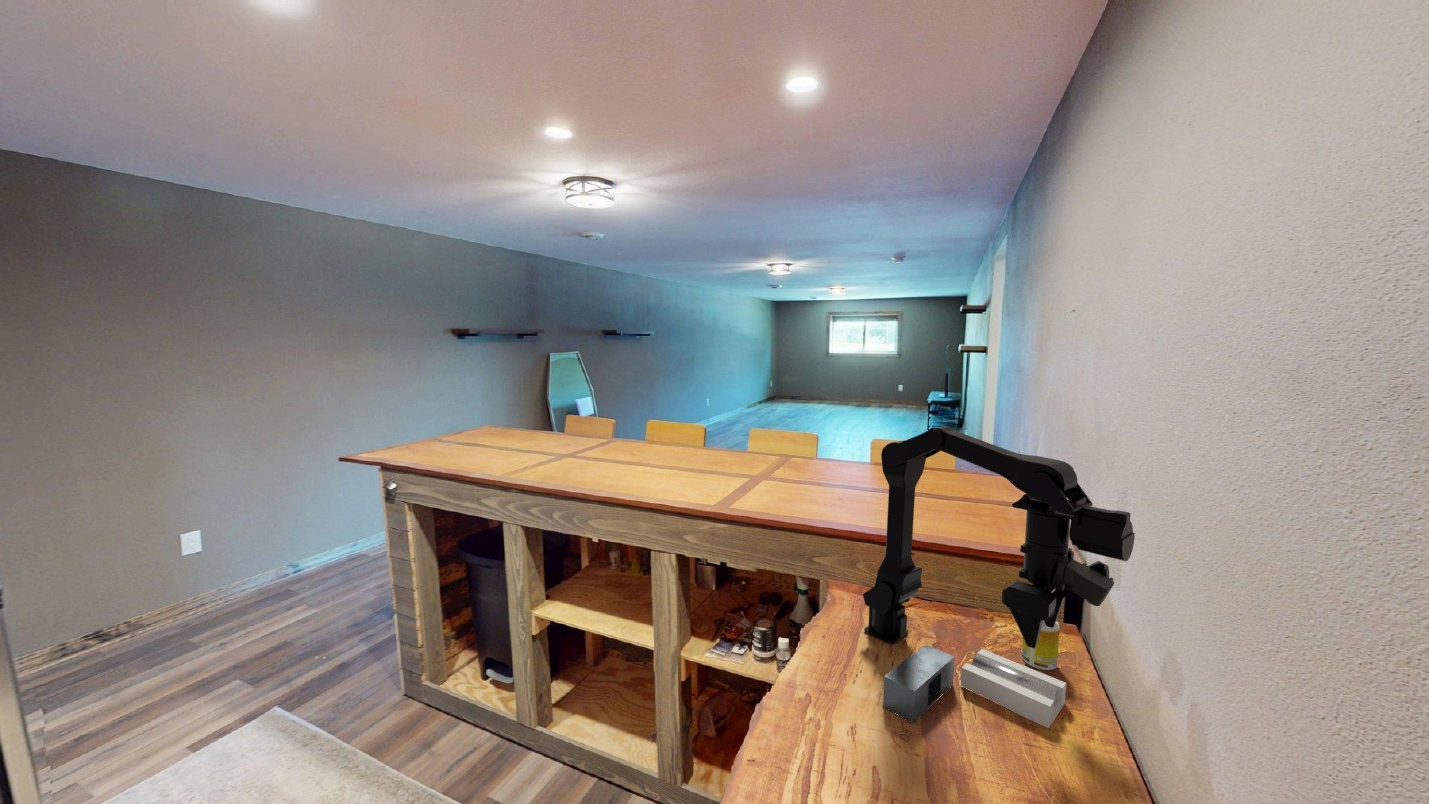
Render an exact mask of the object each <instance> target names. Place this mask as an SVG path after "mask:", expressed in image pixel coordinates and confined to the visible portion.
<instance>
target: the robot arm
mask: <svg viewBox="0 0 1429 804" xmlns="http://www.w3.org/2000/svg"><path fill="white" fill-rule="evenodd" d="M939 452H942V453H945V454H948V455H950V456H952V457H954V458H958V459H960V460H962V461H965V462H968V463H969V464H972V465H975V466H977V467H980V468H982V469H984V470H987V471H990V472H991V473H994V474H996V475H999V476H1001V477H1002V478H1004V479H1005V480H1007V481H1008V482H1009V483H1010V484H1011V485H1013V487H1015V488H1016V489H1018V490H1019V491H1021V492H1022V493H1025V494H1023V495H1022V496H1021V498H1019V499H1018V500H1016V501H1014V502H1012V503H1011V507H1013V508H1014V509H1019V510H1024V511H1026V515H1025V516H1026V519H1025V532H1024V533H1025V537H1024V543H1022V544H1021V545H1020V549H1019V551H1020V553H1023V554H1024V555H1023V567H1022V568H1021V569H1020V570H1019V572H1018V578H1021V579H1025V580H1027V582H1024V581H1021V580H1015V581H1013V582H1012V583H1010V584H1008V585H1007V586H1005V588H1003V589H1002V590H1001V592H1002V593H1001V603H1002V604H1003V605H1005V607H1006V608H1008V610H1009V611H1010V613H1011V615H1012V617H1013V619H1014V620H1015V623H1016V625H1017V627H1018V629H1019V632H1020V633H1021V635H1022V639H1023V638H1024V640H1025V643H1026V645H1027V646H1028V647H1031V648H1035V647H1036V644H1037V641H1038V637H1039V634H1040V630H1041V626H1042V622H1043V620H1044V622H1045V625H1046V626H1048V627H1051V628H1053V627H1054V625H1055V623H1056V621H1057V619H1058V617H1059V614H1060V612H1061V608H1062V607H1063V603H1064V601H1065V598H1067V597H1068V596H1070V595H1072V594H1073V593H1074V594H1076V595H1078V596H1079V597H1081V598H1082V599H1084V600H1086V602H1087V603H1089V605H1092V606H1095V607H1100V606H1101V605H1102V603H1103V602H1104V601H1105V600H1106V598H1107V597H1108V595H1109V593H1110V591H1111V590H1112V588H1113V586H1114V585H1115V581H1114V578H1113V577H1110V566H1108V564H1105V563H1104V562H1102V561H1100V560H1097V561H1095V562H1093V563H1091V564H1089V565H1087V563H1086V562H1083V563H1082V562H1080V561H1077V560H1076V559H1075V558H1074V557H1075V551H1073V549H1072V548H1071V547H1069V545H1070V544H1069V541H1071V544H1072V546H1076V548H1077V550H1079V551H1083V552H1087V553H1091V554H1095V555H1099V556H1103V557H1106V558H1110V559H1113V560H1118V561H1122V562H1128V561H1129V559H1130V558H1131V555H1132V553H1133V549H1134V544H1135V537H1136V536H1135V535H1136V533H1135V532H1134V528H1133V527H1134V526H1133V523H1132V521H1131V516H1132V515H1131V513H1130V512H1128V511H1123V510H1113V509H1111V510H1110V509H1105V508H1100V507H1096V506H1093V502H1092V501H1091V499H1090V498H1089V496H1088V494H1087V493H1086V492H1085V491H1084V489H1083V487H1081V485H1080V484H1079V482H1078V477H1077V475H1078V474H1077V472H1075V470H1074V467H1073V466H1072V465H1070V464H1069V463H1067V462H1065V461H1063V460H1059V459H1054V458H1050V457H1044V456H1038V455H1029V454H1023V453H1019V452H1018V453H1017V452H1015V451H1012V450H1010V449H1009V450H1008V449H1005V448H1003V447H1001V446H998V445H994V444H993V443H989V442H987V441H984V440H981V439H979V438H976V437H974V436H971V435H967V434H966V433H963V432H959V431H957V430H955V429H953V428H951V427H950V426H945V425H944V426H935V427H931V428H929V429H928V430H926V431H925V432H922V433H920V434H918V435H915V436H913V437H910V438H908V439H904V440H900V441H892V442H889V443H887V444H886V445H884V447H882V450H881V452H880V453H881V454H880V460H881V469H882V474H883V476H884V478H885V480H886V481H887V484H888V498H887V500H888V501H887V518H886V519H887V520H886V537H885V538H886V539H885V540H886V541H885V554H884V557H883V560H882V561H881V564H880V565H879V568H878V569H877V573H876V577H875V582H874V586H873V587H872V588H870V589H869V590H867V591H866V592H864V593H863V594H862V598H863V601H864V604H865V605H866V606H867V607H868V625H867V626H866V627H864V629H863V631H864V632H865V633H867V634H869V635H871V636H874V637H876V638H879V640H883V641H885V642H887V643H889V644H890V645H891V644H895V643H897V641H900V640H901V639H902V638H904V637H905V636H907V635H908V634H909V630H908V629H907V628H908V615H907V614H906V606H905V605H904V604H905V603H908V602H910V600H911V599H912V598H911V597H913V596H916V595H917V593H918V592H919V589H921V588H923V584H922V573H923V568H922V567H921V566H919V567H918V566H917V565H915V563H914V560H913V558H912V553H913V552H912V551H913V550H912V549H913V533H914V518H915V517H914V515H915V499H916V498H915V497H916V487H917V484H918V483H919V481H920V478H921V477H922V475H923V474H924V470H925V465H926V462H927V458H930V457H932V456H934V455H936V454H938V453H939Z"/></svg>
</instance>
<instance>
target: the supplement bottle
mask: <svg viewBox="0 0 1429 804" xmlns="http://www.w3.org/2000/svg"><path fill="white" fill-rule="evenodd" d="M1059 642H1060V624H1059V622H1058V621H1057V620H1056V623H1055V625H1054V627H1053V628H1051V627H1048V626H1046V625H1045V622H1044V620H1043V622H1042V626H1041V630H1040V634H1039V637H1038V641H1037V644H1036V647H1035V648H1031V647H1028V646H1027V645H1026V643H1025V640H1024V638H1023V637H1022V644H1021V646H1022V648H1021V656H1022V659H1023V661H1024V662H1025V663H1026V664H1027V665H1029V666H1031V667H1033V668H1034V669H1038V670H1042V671H1052V670H1055V669H1056V668H1058V660H1059V659H1058V658H1059V645H1060V644H1059Z"/></svg>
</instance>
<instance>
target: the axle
mask: <svg viewBox="0 0 1429 804" xmlns="http://www.w3.org/2000/svg"><path fill="white" fill-rule="evenodd" d="M971 665H973V666H975V667H977V668H980V669H982V670H984V671H987V672H989V673H991V674H993V675H996V676H998V677H1000V678H1003V679H1005V680H1007V681H1010V682H1012V683H1014V684H1016V685H1019V686H1021V687H1023V688H1026V689H1028V690H1030V691H1033V692H1035V693H1037V694H1040V695H1042V696H1044V697H1046V698H1049V699H1051V700H1053V701H1054V708H1055V705H1056V702H1057V697H1058V689H1057V688H1056V687H1053V686H1051V685H1049V684H1046V683H1044V682H1041V681H1039V680H1036V679H1034V678H1032V677H1029V676H1027V675H1024V674H1022V673H1019V672H1017V671H1015V670H1012V669H1010V668H1007V667H1005V666H1003V665H1000V664H998V663H995V662H993V661H990V660H988V659H986V658H983V657H981V656H978V655H977V654H975V655H974V657H973V659H972V661H971ZM1054 708H1053V709H1054Z"/></svg>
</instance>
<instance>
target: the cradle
mask: <svg viewBox="0 0 1429 804" xmlns="http://www.w3.org/2000/svg"><path fill="white" fill-rule="evenodd" d="M976 655H978V656H981V657H983V658H986V659H988V660H990V661H993V662H995V663H998V664H1000V665H1003V666H1005V667H1007V668H1010V669H1012V670H1015V671H1017V672H1019V673H1022V674H1024V675H1027V676H1029V677H1032V678H1034V679H1036V680H1039V681H1041V682H1044V683H1046V684H1049V685H1051V686H1053V687H1056V688H1057V689H1058V697H1057V702H1056V705H1055V708H1054V701H1053V700H1051V699H1049V698H1046V697H1044V696H1042V695H1040V694H1037V693H1035V692H1033V691H1030V690H1028V689H1026V688H1023V687H1021V686H1019V685H1016V684H1014V683H1012V682H1010V681H1007V680H1005V679H1003V678H1000V677H998V676H996V675H993V674H991V673H989V672H987V671H984V670H982V669H980V668H977V667H975V666H973V665H972V664H970V663H969V662H966V663H964V665H963V666H962V667H961V674H960V687H961V686H963V687H965V688H967V689H969V690H972V691H973V692H975V693H977V694H981V695H983V696H984V697H986V698H989V699H990V700H992V701H994V702H997V703H998V704H1000V705H1002V706H1004V707H1006V708H1008V709H1010V710H1011V711H1010V710H1009V711H1010V712H1013V713H1015V714H1017V715H1019V716H1021V717H1023V718H1026V719H1027V720H1029V721H1032V722H1034V723H1036V724H1038V725H1040V726H1043V727H1045V728H1047V729H1050V728H1051V725H1052V724H1053V722H1054V721H1055V720H1056V718H1057V717H1058V715H1059V714H1060V712H1061V710H1062V709H1063V707H1064V706H1065V705H1066V694H1067V682H1065V681H1062V680H1060V679H1057V678H1055V677H1052V676H1050V675H1047V674H1045V673H1044V672H1040V671H1038V670H1035V669H1032V668H1031V667H1028V666H1025V665H1024V664H1021V663H1018V662H1015V661H1013V660H1010V659H1008V658H1006V657H1003V656H1001V655H998V654H996V653H993V652H991V651H988V650H986V649H984V648H981V649H980V650H979V651H978V652H977V653H976ZM977 694H976V695H977ZM998 704H997V705H998ZM1000 705H999V706H1000ZM1002 706H1001V707H1002ZM1004 707H1003V708H1004ZM1006 708H1005V709H1006ZM1053 708H1054V709H1053ZM1008 709H1007V710H1008Z"/></svg>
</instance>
